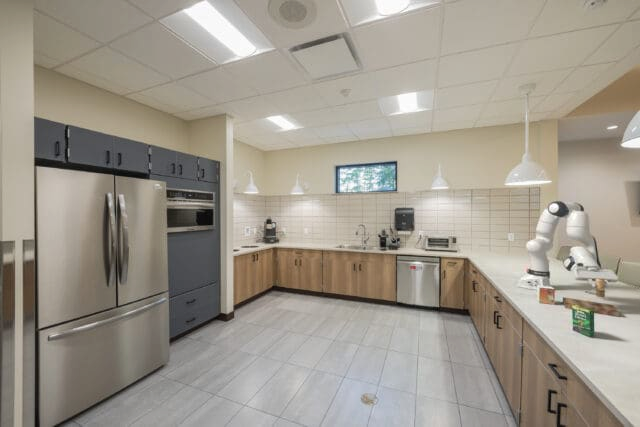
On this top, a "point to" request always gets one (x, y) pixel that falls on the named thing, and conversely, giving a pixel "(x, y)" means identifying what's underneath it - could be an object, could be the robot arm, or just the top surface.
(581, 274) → the robot arm
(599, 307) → the walnut board
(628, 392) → the top surface
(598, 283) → the oak peg
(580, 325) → the coffee box
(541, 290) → the small box
